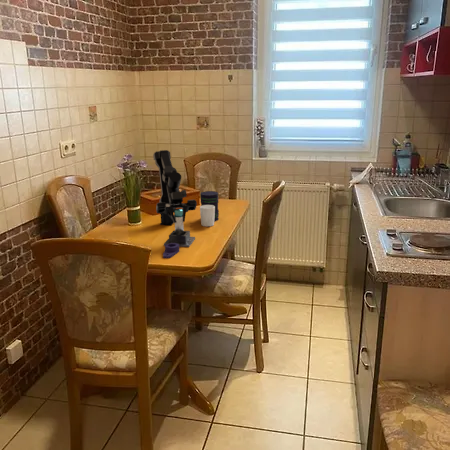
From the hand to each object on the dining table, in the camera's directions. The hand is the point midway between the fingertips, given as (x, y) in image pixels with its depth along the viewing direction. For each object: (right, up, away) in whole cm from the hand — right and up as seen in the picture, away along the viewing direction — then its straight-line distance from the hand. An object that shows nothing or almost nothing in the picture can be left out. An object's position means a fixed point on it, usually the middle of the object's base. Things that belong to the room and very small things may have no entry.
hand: (179, 221), depth 213 cm
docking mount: (0, -10, +4) cm, 10 cm away
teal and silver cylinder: (0, -6, +3) cm, 7 cm away
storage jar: (+13, +1, +41) cm, 43 cm away
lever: (-3, -15, -10) cm, 18 cm away
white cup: (+12, -1, +31) cm, 33 cm away
